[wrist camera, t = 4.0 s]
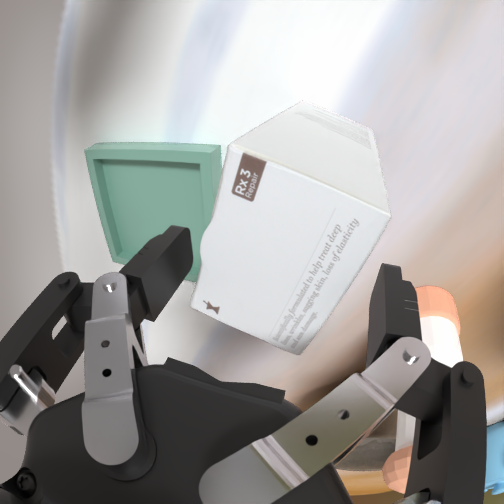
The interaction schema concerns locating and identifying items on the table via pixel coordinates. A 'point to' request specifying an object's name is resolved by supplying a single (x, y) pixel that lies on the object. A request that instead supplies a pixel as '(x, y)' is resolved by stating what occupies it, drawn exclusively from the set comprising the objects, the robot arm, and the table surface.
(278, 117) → the skincare box
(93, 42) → the table surface
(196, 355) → the table surface
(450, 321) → the salt shaker
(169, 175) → the tray
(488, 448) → the teapot
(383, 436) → the bowl
